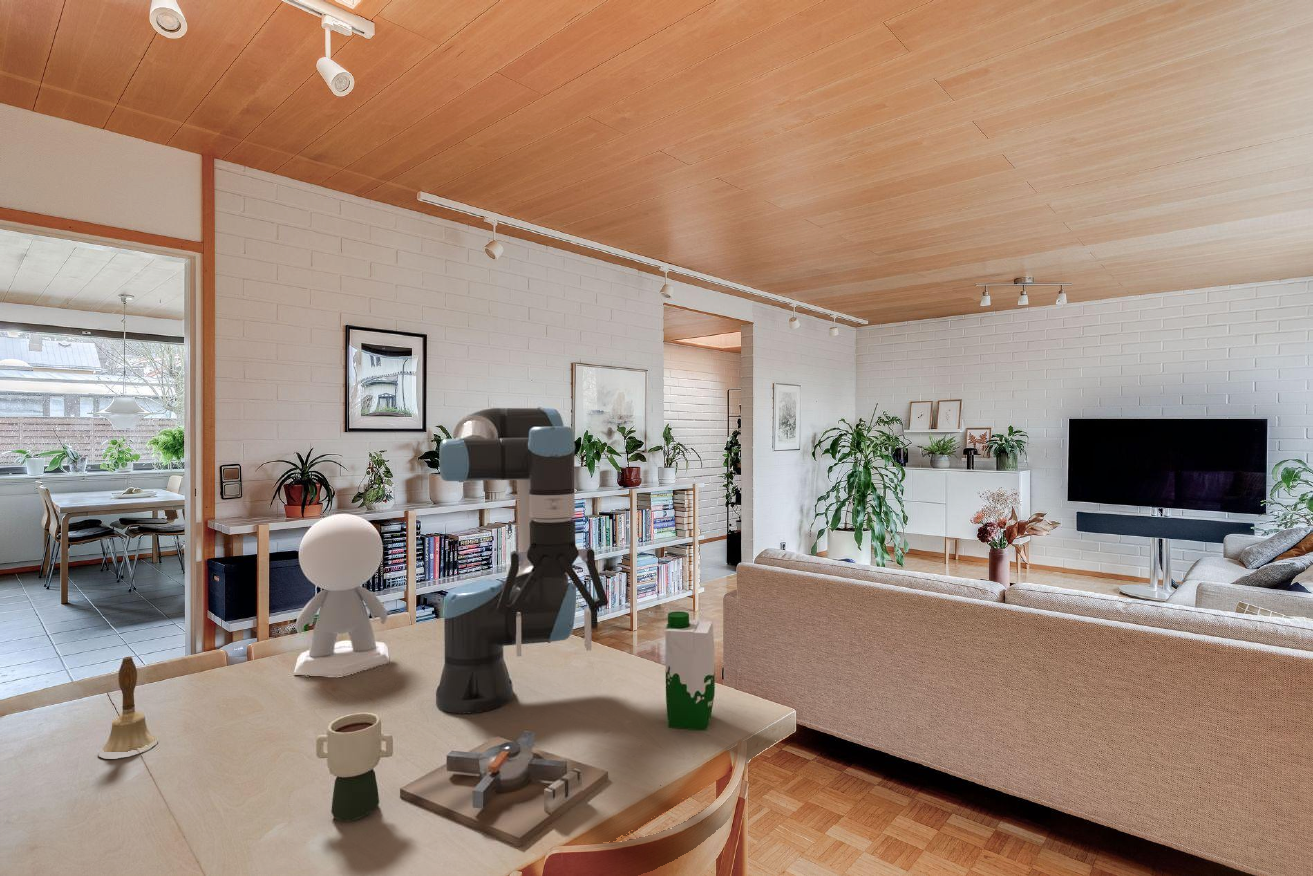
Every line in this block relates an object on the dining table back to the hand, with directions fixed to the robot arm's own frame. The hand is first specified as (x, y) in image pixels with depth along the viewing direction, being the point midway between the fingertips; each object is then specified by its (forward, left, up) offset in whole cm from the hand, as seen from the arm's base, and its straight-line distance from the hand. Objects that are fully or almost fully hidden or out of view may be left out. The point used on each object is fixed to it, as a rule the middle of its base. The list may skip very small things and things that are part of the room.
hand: (553, 651), depth 113 cm
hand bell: (-66, -35, -18) cm, 77 cm away
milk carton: (+13, +24, -18) cm, 33 cm away
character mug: (-14, -27, -18) cm, 36 cm away
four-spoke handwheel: (0, -11, -16) cm, 20 cm away
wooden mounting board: (0, -11, -18) cm, 21 cm away
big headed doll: (-74, +11, -18) cm, 77 cm away
